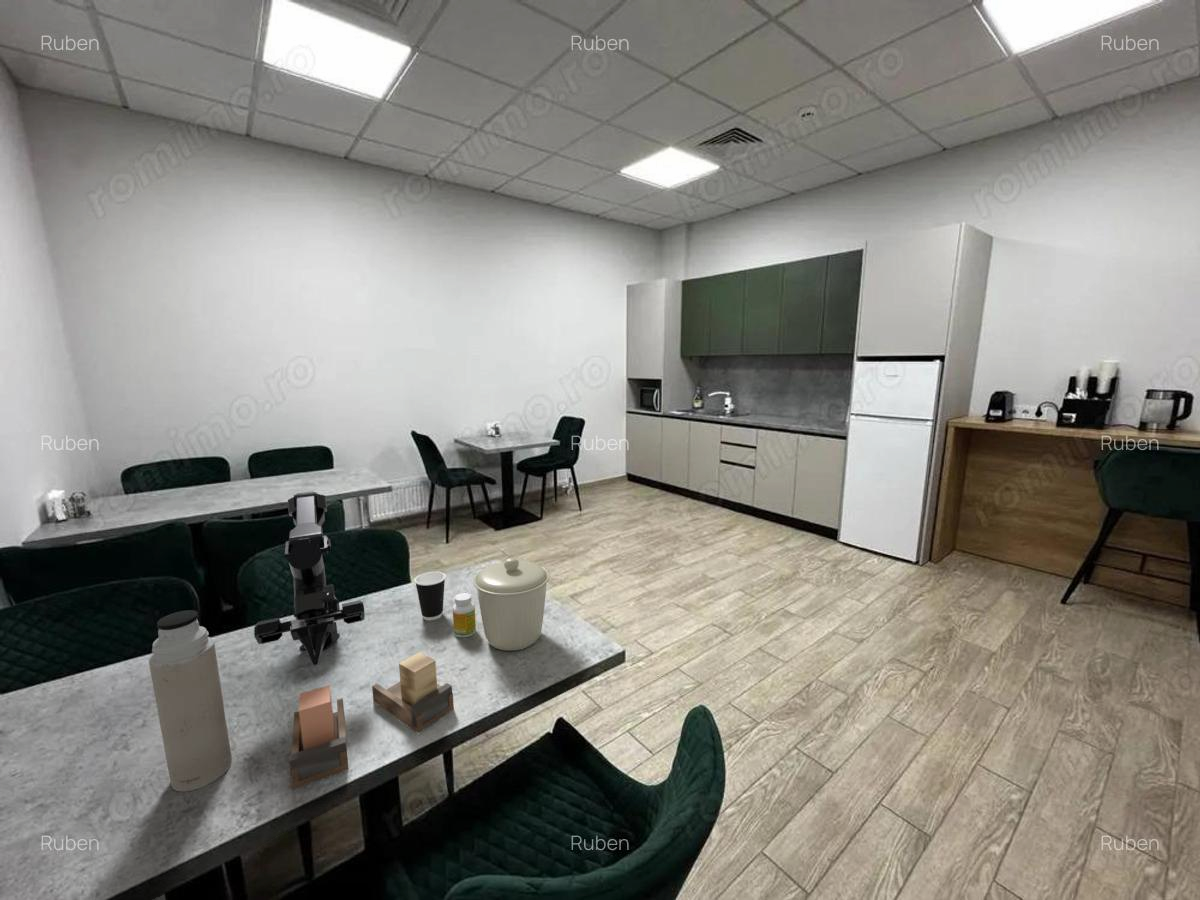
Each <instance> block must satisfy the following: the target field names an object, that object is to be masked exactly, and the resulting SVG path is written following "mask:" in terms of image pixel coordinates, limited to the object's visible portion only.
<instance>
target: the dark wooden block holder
mask: <svg viewBox="0 0 1200 900" xmlns="http://www.w3.org/2000/svg"><path fill="white" fill-rule="evenodd" d="M336 706H337V711H335V712H334V711H333V719H334V728H335V740H333V741H330V742H327V743H324V744H321V745H318V746H315V747H312V748H309V749H306V750H303V741H302V733H301V725H300V717H299V710H298V711H295V712H293V725H292V739H291V740H292V741H291V752H290V753H291V754H289V756H288V757H289V760H288V761H289V772H290V780H291V787H292V790H295V789H298V788H301V787H303V786H306V785H309V784H312V783H314V782H317V781H319V780H323V779H325V778H328V777H331V776H334V775H336V774H340V773H342V772H344V771H348V770H349V760H348V759H349V757H348V746H347V743H348V742H347V733H346V732H347V731H346V717H345V708H344V698H343V697H342V698H338V699H337V700H336ZM311 782H312V783H311Z"/></svg>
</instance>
